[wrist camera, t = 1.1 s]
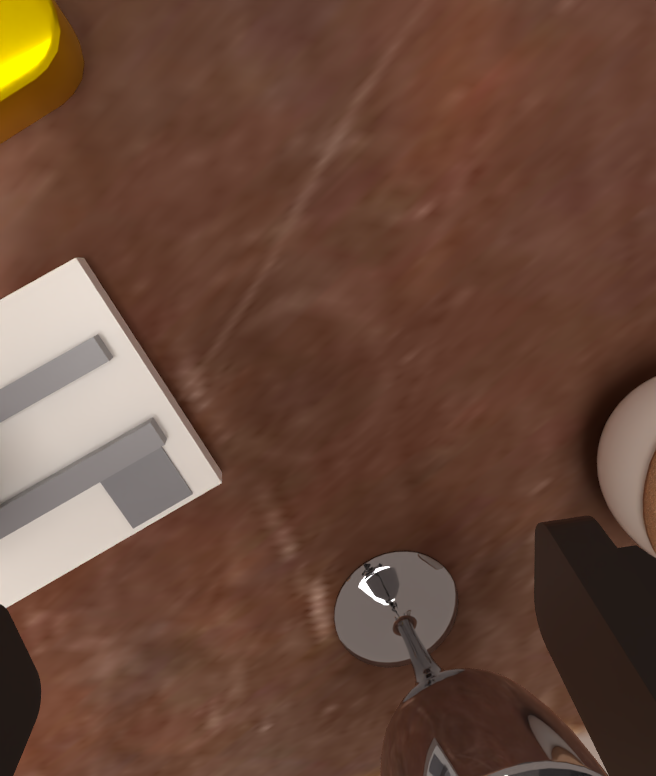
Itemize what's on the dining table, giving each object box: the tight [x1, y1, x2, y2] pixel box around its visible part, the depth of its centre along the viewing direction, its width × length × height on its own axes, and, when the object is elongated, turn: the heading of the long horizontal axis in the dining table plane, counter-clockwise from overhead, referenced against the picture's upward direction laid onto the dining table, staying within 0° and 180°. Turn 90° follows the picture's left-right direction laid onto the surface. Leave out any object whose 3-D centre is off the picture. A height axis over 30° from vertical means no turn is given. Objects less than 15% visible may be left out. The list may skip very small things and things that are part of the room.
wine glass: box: [334, 551, 608, 776], centre depth 26 cm, size 8×8×15 cm
